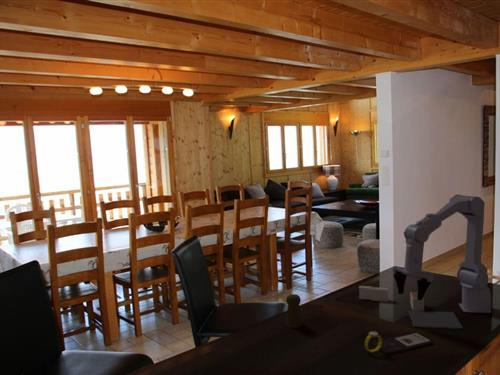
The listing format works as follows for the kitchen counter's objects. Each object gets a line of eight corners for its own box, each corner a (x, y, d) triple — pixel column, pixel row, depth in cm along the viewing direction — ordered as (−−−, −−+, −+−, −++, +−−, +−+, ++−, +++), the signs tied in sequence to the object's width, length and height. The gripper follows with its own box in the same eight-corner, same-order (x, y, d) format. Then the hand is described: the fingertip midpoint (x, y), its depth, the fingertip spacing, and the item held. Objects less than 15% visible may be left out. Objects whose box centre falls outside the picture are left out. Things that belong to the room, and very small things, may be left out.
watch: (377, 348, 139) (378, 330, 139) (383, 351, 137) (384, 333, 136) (362, 351, 137) (363, 332, 136) (368, 354, 134) (369, 336, 134)
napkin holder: (396, 301, 179) (396, 287, 178) (378, 308, 172) (378, 294, 172) (367, 292, 191) (367, 279, 191) (349, 298, 185) (349, 285, 184)
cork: (304, 322, 162) (303, 293, 160) (299, 328, 156) (298, 299, 155) (289, 320, 164) (288, 291, 163) (283, 326, 159) (282, 297, 158)
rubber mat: (453, 313, 162) (453, 312, 162) (463, 329, 149) (463, 327, 149) (408, 312, 166) (408, 310, 166) (414, 327, 152) (414, 326, 152)
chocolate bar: (369, 341, 142) (414, 331, 148) (369, 344, 142) (414, 334, 148) (386, 353, 134) (433, 342, 139) (386, 356, 134) (433, 345, 140)
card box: (420, 304, 173) (420, 292, 172) (424, 311, 166) (424, 298, 165) (410, 304, 174) (410, 292, 173) (413, 311, 167) (412, 298, 166)
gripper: (389, 255, 156) (386, 292, 157) (426, 264, 145) (422, 304, 146) (400, 254, 161) (397, 290, 161) (437, 262, 149) (434, 301, 150)
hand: (410, 296), depth 154 cm, fingers open, 7 cm apart
